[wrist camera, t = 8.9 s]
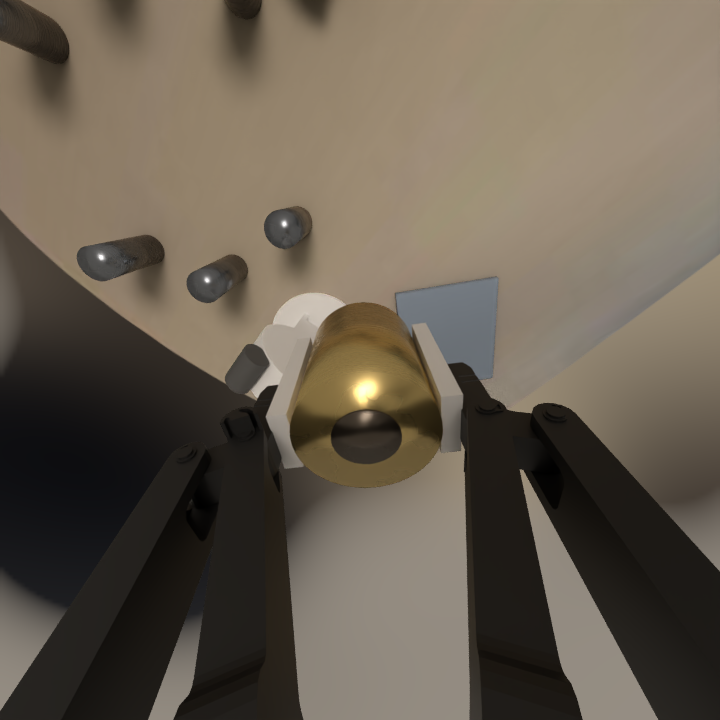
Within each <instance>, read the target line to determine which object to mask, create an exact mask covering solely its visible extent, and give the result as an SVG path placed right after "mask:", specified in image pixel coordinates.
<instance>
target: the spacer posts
mask: <svg viewBox="0 0 720 720" xmlns="http://www.w3.org/2000/svg"><path fill="white" fill-rule="evenodd" d="M261 1H262V0H225V2H226V3H227V5H228V6H229V8H230V9H231V11H232V12H233V13H234V14H235V15H236V16H238V17H240V18H242V19H250V18H253V17H254V16H255V15H256V14H257V13H258V11H259V9H260V6H261ZM0 40H1V41H3V42H6V43H8V44H10V45H12V46H15V47H17V48H19V49H22V50H24V51H26V52H29V53H31V54H33V55H36V56H38V57H40V58H43V59H45V60H47V61H50V62H52V63H56V64H59V63H63V62H64V61H65V60H66V59H67V57H68V54H69V45H68V41H67V38H66V36H65V34H64V32H63V30H62V29H61V27H60V26H59V25H58V24H57V23H56V22H55V21H54V20H53V19H52V18H50V17H49V16H47V15H45V14H43V13H42V12H40V11H38V10H37V9H35V8H33V7H31V6H30V5H28V4H26V3H24V2H23V1H21V0H0ZM311 228H312V218H311V216H310V214H309V212H308V211H307V210H306V209H304V208H302V207H299V206H295V207H290V208H286V209H281V210H277V211H274V212H272V213H270V214H269V215H268V216H267V218H266V220H265V224H264V231H265V234H266V237H267V238H268V240H269V241H270V242H271V243H272V244H273V245H274V246H276V247H278V248H282V249H287V248H291V247H292V246H294V245H295V244H296V243H297V242H299V241H300V240H301V239H302V238H303V237H305V236H306V235H307V234H308V233H309V232H310V230H311ZM163 258H164V249H163V246H162V245H161V243H160V242H159V241H158V240H157V239H156V238H154V237H152V236H150V235H141V236H136V237H131V238H126V239H121V240H115V241H110V242H105V243H100V244H95V245H90V246H85V247H82V248H81V249H80V250H79V251H78V253H77V261H78V264H79V266H80V268H81V269H82V270H83V272H84V273H85V274H87V275H88V276H89V277H91V278H93V279H95V280H98V281H107V280H110V279H113V278H116V277H119V276H121V275H124V274H127V273H130V272H133V271H136V270H139V269H141V268H144V267H147V266H150V265H153V264H156V263H158V262H160V261H162V259H163ZM247 273H248V268H247V265H246V263H245V261H244V260H243V259H242V258H241V257H239V256H237V255H227V256H225V257H223V258H221V259H219V260H217V261H215V262H213V263H211V264H208V265H206V266H204V267H202V268H200V269H198V270H196V271H194V272H192V273H191V274H190V275H189V276H188V278H187V288H188V290H189V292H190V294H191V295H192V296H193V297H194V298H195V299H197V300H198V301H201V302H204V303H211V302H214V301H216V300H217V299H218V298H220V297H221V296H222V295H223V294H225V293H226V292H227V291H229V290H230V289H231V288H233V287H234V286H235V285H237V284H238V283H239V282H240V281H242V280H243V279H244V278H245V277H246V276H247Z"/></svg>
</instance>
